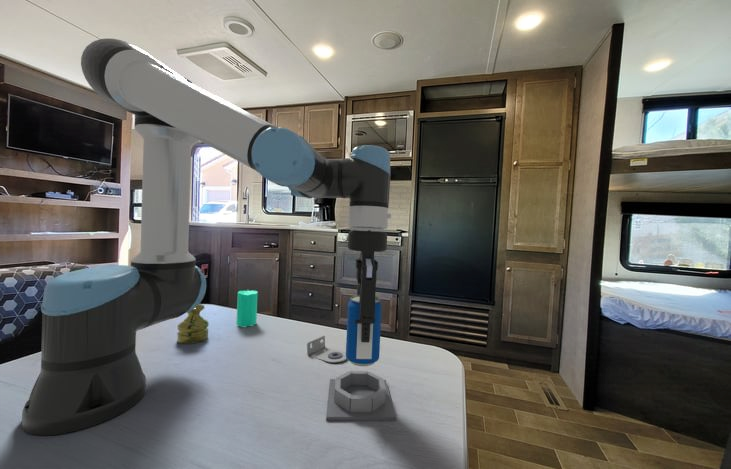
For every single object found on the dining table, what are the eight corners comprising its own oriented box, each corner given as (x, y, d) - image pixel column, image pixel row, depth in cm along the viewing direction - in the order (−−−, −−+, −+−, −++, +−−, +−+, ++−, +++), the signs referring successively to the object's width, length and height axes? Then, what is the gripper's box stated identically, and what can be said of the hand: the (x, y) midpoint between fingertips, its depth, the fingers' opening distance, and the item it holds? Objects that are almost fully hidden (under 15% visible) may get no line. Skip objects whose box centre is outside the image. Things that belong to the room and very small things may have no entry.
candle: (232, 325, 89) (233, 288, 89) (243, 320, 95) (245, 284, 95) (249, 328, 88) (251, 290, 88) (259, 321, 94) (261, 286, 94)
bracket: (337, 368, 66) (337, 353, 66) (306, 356, 72) (307, 342, 72) (353, 358, 72) (353, 344, 72) (323, 347, 77) (324, 335, 77)
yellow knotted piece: (200, 332, 83) (202, 298, 83) (213, 338, 78) (214, 303, 78) (172, 339, 77) (173, 303, 77) (183, 347, 72) (185, 308, 72)
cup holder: (326, 420, 48) (326, 402, 48) (329, 381, 60) (330, 367, 60) (395, 420, 48) (396, 403, 48) (385, 382, 60) (386, 368, 60)
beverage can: (385, 358, 55) (387, 298, 55) (367, 372, 49) (370, 304, 49) (357, 350, 58) (360, 292, 58) (338, 361, 53) (341, 298, 53)
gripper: (396, 231, 44) (389, 376, 44) (380, 230, 63) (376, 331, 64) (349, 229, 44) (342, 375, 44) (347, 229, 63) (343, 330, 63)
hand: (362, 349), depth 54 cm, fingers closed on beverage can, 6 cm apart
